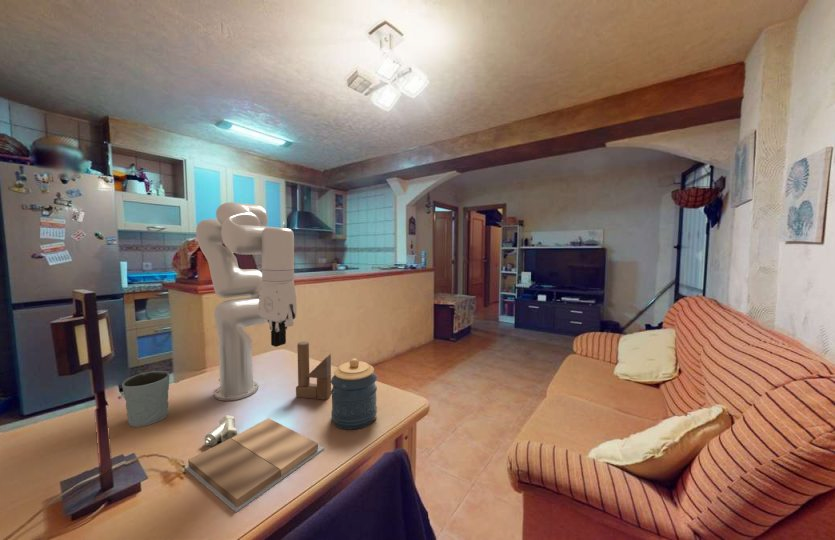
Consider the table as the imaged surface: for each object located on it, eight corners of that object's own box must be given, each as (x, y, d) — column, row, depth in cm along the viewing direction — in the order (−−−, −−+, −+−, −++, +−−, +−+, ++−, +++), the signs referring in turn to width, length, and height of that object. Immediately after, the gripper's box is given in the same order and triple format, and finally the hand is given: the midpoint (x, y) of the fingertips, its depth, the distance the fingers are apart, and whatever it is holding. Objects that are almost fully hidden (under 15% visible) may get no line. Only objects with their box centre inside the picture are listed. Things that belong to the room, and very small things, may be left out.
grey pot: (162, 405, 94) (159, 368, 93) (178, 414, 89) (176, 375, 88) (118, 422, 85) (115, 380, 84) (134, 433, 81) (131, 389, 80)
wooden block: (327, 400, 99) (326, 345, 97) (295, 397, 100) (294, 344, 99) (331, 394, 102) (331, 342, 101) (301, 392, 104) (300, 340, 102)
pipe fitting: (206, 453, 74) (238, 441, 78) (203, 438, 74) (236, 427, 77) (205, 436, 81) (235, 425, 84) (203, 422, 80) (233, 412, 84)
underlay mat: (184, 468, 68) (184, 467, 68) (272, 422, 86) (272, 421, 86) (236, 512, 57) (236, 510, 57) (323, 449, 75) (323, 447, 75)
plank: (231, 443, 76) (230, 438, 76) (268, 423, 84) (268, 418, 84) (281, 476, 66) (280, 469, 65) (318, 449, 74) (318, 443, 74)
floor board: (188, 466, 68) (188, 459, 68) (230, 444, 76) (230, 438, 76) (237, 507, 58) (237, 499, 58) (280, 476, 65) (280, 469, 65)
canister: (357, 436, 80) (356, 371, 79) (321, 422, 87) (320, 361, 85) (385, 413, 92) (385, 355, 90) (352, 401, 98) (352, 348, 96)
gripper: (247, 274, 79) (248, 342, 81) (283, 280, 72) (283, 355, 74) (274, 272, 86) (274, 335, 88) (309, 277, 78) (309, 347, 80)
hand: (278, 344), depth 81 cm, fingers closed
